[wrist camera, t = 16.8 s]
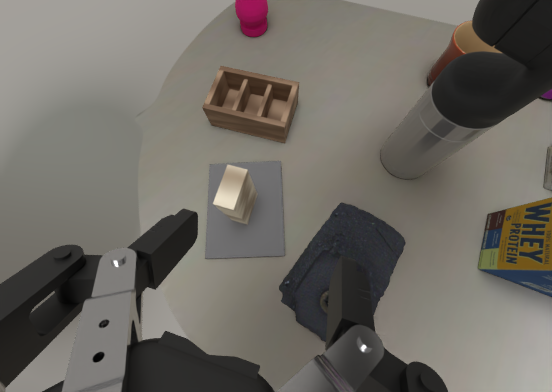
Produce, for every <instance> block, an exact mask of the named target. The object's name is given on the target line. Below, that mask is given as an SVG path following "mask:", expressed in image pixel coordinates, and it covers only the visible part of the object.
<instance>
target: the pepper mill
mask: <svg viewBox="0 0 552 392" xmlns="http://www.w3.org/2000/svg"><path fill="white" fill-rule="evenodd" d="M235 8H236V14H237V17H238V18H239V19H240V24H241V29H242V32H243V33H244V34H245V35H247V36H250V37H257V36H260V35H262V34H263V33H264V32H265V31H266V29H267V18H266V16H267V13H268V5H267V0H236V3H235Z"/></svg>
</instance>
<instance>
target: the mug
mask: <svg viewBox="0 0 552 392" xmlns="http://www.w3.org/2000/svg"><path fill="white" fill-rule="evenodd" d="M472 21H473V20H472ZM472 21H467V22H464V23H462V24H460V25H459V26H458V27H457V28H456V29H455V31H454V33H453V35H452V38H451V41H450V43H449V45H448V47H447V49H446V50H445V51H444V53H443V54H442V55H441V56H440V58H439V59H438V60H437V62H436V63H435V64H434V65H433V67H432V69H431V71H430V73H429V75H428V84H429V86H431V84H432V83H433V82H434V81H435V79H436V78H437V77H438V75H439V74H440V73H441V71H442V70H443V69H444V68H445V67H446V66H447V65H448V64H449V63H450V62H451V61H453V60H454V59H455V58H457V57H459V56H461V55H464V54H467V53H471V52H480V51H486V52H496V53H502V52H500V51H498V50H497V49H495V48H494V46H495V45H494V46H493V47H491V46H489V45H488V44H486V43H485V42H483V41H482V40H481V39H480V38H479V37H478V36H477V35H476V33H475V32H474V30H473V27H472Z"/></svg>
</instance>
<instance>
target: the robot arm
mask: <svg viewBox="0 0 552 392" xmlns="http://www.w3.org/2000/svg"><path fill="white" fill-rule="evenodd" d="M472 27H473V30H474V32H475V33H476V35H477V36H478V37H479V38H480V39H481V40H482V41H483V42H485V43H486V44H488V45H489V46H491V47H493V46H494V45H495V46H494V48H495V49H497V50H498V51H500V52H502V53H496V52H486V51H480V52H471V53H467V54H464V55H461V56H459V57H457V58H455V59H454V60H453V61H451V62H450V63H449V64H448V65H447V66H446V67H445V68H444V69H443V70H442V71H441V73H440V74H439V75H438V77H437V78H436V79H435V81H434V82H433V83H432V84H431V86H430V87H429V88H428V89H427V91H426V92H425V93H424V94H423V96H422V97H421V98H420V100H419V101H418V102H417V103H416V105H415V106H414V107H413V108H412V110H411V111H410V112H409V113H408V115H407V116H406V117H405V118H404V120H403V121H402V122H401V123H400V125H399V126H398V127H397V128H396V130H395V131H394V132H393V133H392V135H391V136H390V137H389V138H388V140H387V141H386V142H385V144H384V145H383V147H382V149H381V161H382V163H383V165H384V167H385V168H386V169H387V170H388V171H389V172H390V173H391V174H392V175H394V176H396V177H398V178H402V179H415V178H417V177H420V176H421V175H423V174H424V173H426V172H427V171H429V170H430V169H432V168H433V167H435V166H436V165H438V164H439V163H441V162H442V161H444V160H445V159H447V158H448V157H450V156H451V155H453V154H454V153H456V152H457V151H459V150H460V149H461V148H463V147H464V146H466V145H467V144H469V143H470V142H472V141H473V140H475V139H476V138H478V137H479V136H480V135H482V134H483V133H485V132H486V131H488V130H489V129H491V128H492V127H494V126H495V125H497V124H498V123H500V122H501V121H503V120H504V119H505V118H507V117H508V116H510V115H512V114H514V113H515V112H517V111H518V110H520V109H521V108H523V107H525V106H526V105H528V104H529V103H531V102H532V101H534V100H535V99H537V98H538V97H540V96H542V95H543V94H545V93H546V92H548V91H550V90H551V89H552V0H480V1H479V3H478V5H477V7H476V10H475V12H474V16H473V21H472ZM197 235H198V214H197V212H194V211H190V210H187V209H182V210H181V211H179V212H178V213H177V214H176V215H175V216H174V215H170V216H167V217H165V218H163V219H161V220H160V221H159V222H158V223H156V224H155V226H153V227H152V228H150V230H148V231H147V232H146V233H144V234H143V235H142V236H141V237H140V238H139V239H137V240H136V241H135V242H134V243H133V244H131V245H130V246H129V247H128V248H118V249H114V250H111V251H110V252H107V253H106V254H105V255H103V256H101V255H84V252H83V249H82V248H81V247H80V246H77V245H65V246H60V247H57V248H55V249H52V250H51V251H49V252H47V253H46V254H44V255H43V256H42V257H40V258H38V259H37V260H35V261H34V262H33V263H31V264H29V265H28V266H27V267H25V268H24V269H22V270H21V271H19V272H18V273H16V274H15V275H13V276H12V277H10V278H9V279H7V280H6V281H4V282H3V283H1V284H0V392H5V388H6V387H7V386H8V385H9V384H10V383H11V382H12V381H13V380H14V379H15V378H16V377H17V376H18V375H19V374H20V373H21V372H22V371H23V370H24V369H25V368H26V367H27V366H28V365H29V364H30V362H32V361H33V360H34V359H35V358H36V357H37V356H38V355H39V354H40V353H41V352H42V351H43V350H44V349H45V348H46V347H47V345H49V343H50V342H51V341H52V340H53V339H54V338H55V337H56V336H57V335H58V334H59V333H60V332H61V331H62V330H63V329H64V328H65V327H66V326H67V325H68V324H69V323H70V322H71V321H72V320H73V319H74V318H75V317H76V316H77V315H78V314H79V313H80V312H81V311H82V312H81V316H80V320H79V324H78V328H77V332H76V337H75V341H74V345H73V349H72V352H71V357H70V360H69V364H68V368H67V373H66V377H65V380H64V381H61V382H60V383H58V384H56V385H54V386H52V387H50V388H48V389H46V390H45V391H43V392H274V390H273V389H272V387H271V386H270V385H269V383H268V382H267V381H266V380H265V379H264V378H263V377H262V376H260V375H259V374H258V372H259V368H260V366H259V365H257V364H254V363H251V362H248V361H246V360H243V359H240V358H238V357H231V356H216V355H208V354H206V353H205V352H204V351H202V350H201V349H200V348H199V347H197V346H196V345H195V344H193V343H192V342H191V341H190V340H188V339H186V338H183V337H181V336H178V335H175V334H173V333H170V332H167V331H165V332H164V334H163V335H162V337H161V338H154V339H148V340H143V341H142V307H143V291H144V290H145V288H147V287H149V288H152V289H156V288H157V287H158V286H159V285H160V284H161V282H162V281H163V280H164V279H165V278H166V277H167V275H168V274H169V273H170V272H171V271H172V269H173V268H174V267H175V266H176V265H177V264H178V262H179V261H180V260H181V259H182V258H183V256H184V255H185V254H186V253H187V252H188V250H189V249H190V248H191V247H192V246H193V244H194V243H195V241H196V239H197ZM53 291H55V293H54V294H53V295H52V296H51V297H50V298H48V299H47V300H46V301H45V302H44V303H42V304H41V305H40V306H39V307H38V308H36V309H35V310H34V311H33V312H32V313H31V311H32V309H33V308H34V307H35V306H36V305H37V304H38V303H40V302H41V301H42V300H43V299H44V298H46V297H47V296H48V295H49V294H50V293H51V292H53ZM30 313H31V314H30ZM325 350H327V351H326V352H325V353H323V354H322V355H321V356H319V355H317V356H316V357H314V358H313V359H312V360H311V361H310V362H309V363H307V364H306V365H305V366H304V367H303V368H302V369H301V370H300V371H299V372H298V373H297V374H295V375H294V376H293V377H292V378H291V379H290V380H289V381H288V382H287V383H286V384H284V385H283V386H282V387H281V388H280V389H279V390H278V391H277V392H448V390H447V388H446V385H445V383H444V382H443V380H442V379H441V378H440V376H439V375H438V374H437V373H436V372H435V371H434V370H433V369H432V368H430V367H429V366H427V365H426V364H423V363H421V362H411V363H410V364H409V365H407V364H406V363H404V362H403V361H401V360H400V359H398V358H397V357H395V356H394V355H392V354H391V353H390V352H388V351H387V350H386V349H385V348H384V347H383V343H382V341H381V339H380V338H379V336H378V335H377V334H376V333H375V327H374V319H373V311H372V303H371V295H370V287H369V282H368V280H367V278H366V276H365V274H364V273H362V272H358V271H357V269H356V260H354V259H350V258H347V257H344V256H340V258H339V260H338V262H337V265H336V267H335V269H334V272H333V274H332V277H331V280H330V285H329V299H328V316H327V333H326V349H325Z"/></svg>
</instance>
